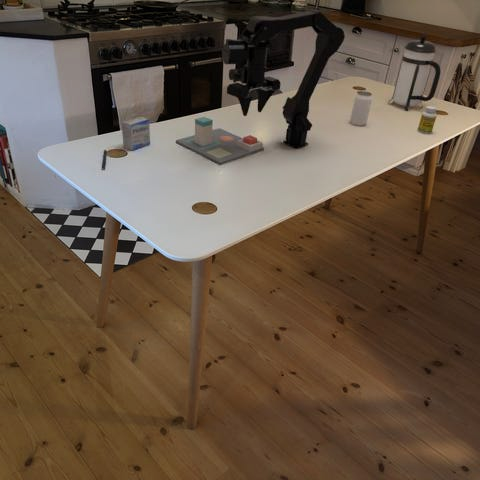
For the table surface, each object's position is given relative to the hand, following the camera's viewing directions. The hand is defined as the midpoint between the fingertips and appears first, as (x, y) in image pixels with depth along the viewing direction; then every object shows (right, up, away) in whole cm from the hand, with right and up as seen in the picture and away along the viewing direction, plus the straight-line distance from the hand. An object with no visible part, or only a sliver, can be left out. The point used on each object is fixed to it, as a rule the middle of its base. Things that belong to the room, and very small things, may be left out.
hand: (252, 113), depth 148 cm
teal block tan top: (-16, -8, +6) cm, 19 cm away
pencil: (-45, -16, -7) cm, 49 cm away
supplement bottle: (+68, +2, +33) cm, 76 cm away
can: (+43, +6, +36) cm, 56 cm away
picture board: (-11, -9, +7) cm, 16 cm away
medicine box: (-37, -10, +2) cm, 39 cm away
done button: (-1, -8, +5) cm, 10 cm away
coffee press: (+71, +19, +59) cm, 95 cm away
